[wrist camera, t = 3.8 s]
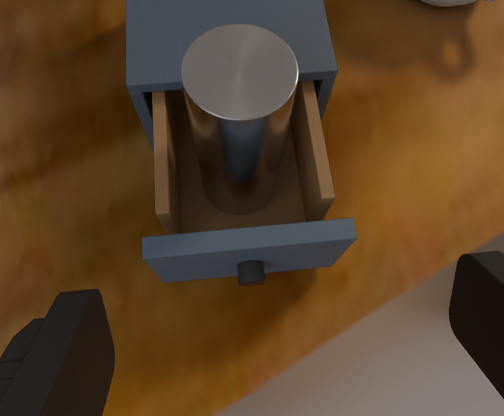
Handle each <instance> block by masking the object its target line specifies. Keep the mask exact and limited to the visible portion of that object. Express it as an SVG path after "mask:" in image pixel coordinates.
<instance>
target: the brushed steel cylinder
mask: <svg viewBox="0 0 504 416" xmlns="http://www.w3.org/2000/svg"><path fill="white" fill-rule="evenodd" d="M298 76H299V70H298V64H297V60H296V58H295V55H294V53H293V51H292V50H291V48H290V47H289V46H288V44H287V43H286V42H285V41H284V40H283V39H282V38H280V37H279V36H278V35H276V34H275V33H273V32H271V31H270V30H267V29H265V28H262V27H259V26H256V25H251V24H227V25H223V26H219V27H216V28H213V29H211V30H209V31H207V32H205V33H203V34H202V35H200V36H199V37H198V38H197V39H196V40H195V41H194V42H193V43H192V44H191V45H190V46H189V48H188V49H187V51H186V53H185V55H184V57H183V60H182V64H181V80H182V85H183V90H184V95H185V100H186V105H187V110H188V115H189V120H190V125H191V130H192V135H193V139H194V144H195V149H196V154H197V159H198V164H199V169H200V174H201V179H202V184H203V189H204V192H205V194H206V197H207V198H208V200H209V201H210V202H211V204H212V205H213V206H215V207H216V208H217V209H219V210H220V211H222V212H224V213H227V214H231V215H238V216H241V215H249V214H252V213H255V212H257V211H259V210H261V209H262V208H264V207H265V206H266V205H267V204H268V203H269V202H270V200H271V199H272V197H273V195H274V193H275V190H276V185H277V180H278V175H279V170H280V165H281V161H282V156H283V151H284V146H285V141H286V136H287V131H288V127H289V122H290V117H291V112H292V107H293V102H294V97H295V92H296V88H297V83H298Z"/></svg>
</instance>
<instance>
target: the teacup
mask: <svg viewBox="0 0 504 416" xmlns="http://www.w3.org/2000/svg"><path fill="white" fill-rule="evenodd" d="M421 1H423V2H425V3H428V4H431V5H435V6H441V7H448V6H456V5H465V4H469V3H473V2H476V1H478V0H421ZM485 1H494V0H485Z"/></svg>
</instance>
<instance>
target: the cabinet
mask: <svg viewBox="0 0 504 416" xmlns="http://www.w3.org/2000/svg"><path fill="white" fill-rule="evenodd" d="M227 24H251V25H256V26H259V27H262V28H265V29H267V30H270V31H271V32H273V33H275V34H276V35H278V36H279V37H280V38H282V39H283V40H284V41H285V42H286V43H287V44H288V46H289V47H290V48H291V50H292V51H293V53H294V55H295V58H296V60H297V64H298V70H299V76H298V81H308V80H313V82H314V88H315V93H316V98H317V104H318V109H319V114H320V120H322V117H323V114H324V111H325V108H326V105H327V102H328V99H329V96H330V93H331V90H332V87H333V84H334V81H335V78H336V75H337V72H338V69H337V64H336V59H335V55H334V50H333V45H332V41H331V36H330V32H329V27H328V22H327V18H326V13H325V8H324V4H323V0H126V86H127V89H128V91H129V94H130V96H131V99H132V101H133V103H134V106H135V108H136V111H137V113H138V116H139V118H140V121H141V123H142V126H143V128H144V131H145V133H146V136H147V138H148V141H149V143H150V146H151V148H152V151H153V153H154V141H153V105H152V92H153V91H167V90H181V89H183V85H182V80H181V64H182V60H183V57H184V55H185V53H186V51H187V49H188V48H189V46H190V45H191V44H192V43H193V42H194V41H195V40H196V39H197V38H198V37H199V36H200V35H202V34H203V33H205V32H207V31H209V30H211V29H213V28H216V27H219V26H223V25H227Z"/></svg>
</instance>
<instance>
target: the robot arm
mask: <svg viewBox="0 0 504 416" xmlns="http://www.w3.org/2000/svg"><path fill="white" fill-rule="evenodd" d="M449 320H450V324H451V328H452V330H453V332H454V334H455V336H456V338H457V339H458V340H459V342H460V343H461V344H462V346H463V347H464V348H465V350H466V351H467V352H468V353H469V355H470V356H471V357H472V359H473V360H474V361H475V362H476V364H477V365H478V366H479V368H480V369H481V370H482V372H483V373H484V374H485V375H486V377H487V378H488V379H489V380H490V382H491V383H492V384H493V386H494V387H495V388H496V390H497V391H498V392H499V393H500V395H501V396H502V397H503V399H504V254H503V253H502V252H499V251H492V252H481V253H470V254H463V255H462V256H461V257H460V258H459V260H458V262H457V267H456V272H455V278H454V284H453V290H452V296H451V301H450V306H449ZM114 365H115V351H114V344H113V340H112V336H111V331H110V327H109V323H108V319H107V315H106V311H105V307H104V303H103V299H102V296H101V293H100V291H99V290H98V289H89V290H78V291H68V292H61V293H59V294H58V295H57V297H56V299H55V300H54V302H53V304H52V306H51V308H50V310H49V311H48V313H47V315H46V317H45V318H39V319H33V320H32V321H31V322H30V323H29V324H28V325H27V326H25V327H24V328H23V329H22V330H21V331H20V332H19V333H17V334H16V335H15V336H14V337H13V338H12V340H11V341H10V343H9V345H8V346H7V348H6V350H5V351H4V353H3V354H2V356H1V358H0V416H102V414H103V410H104V407H105V403H106V399H107V395H108V392H109V388H110V384H111V380H112V377H113V372H114Z"/></svg>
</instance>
